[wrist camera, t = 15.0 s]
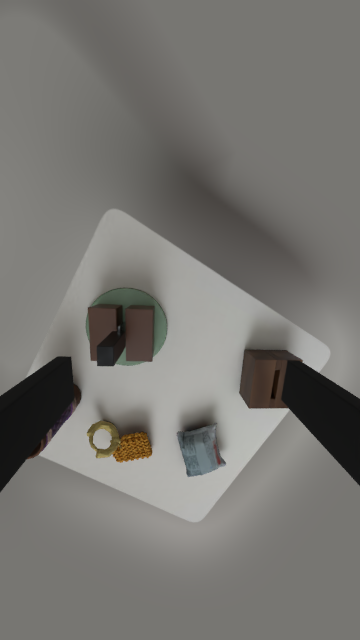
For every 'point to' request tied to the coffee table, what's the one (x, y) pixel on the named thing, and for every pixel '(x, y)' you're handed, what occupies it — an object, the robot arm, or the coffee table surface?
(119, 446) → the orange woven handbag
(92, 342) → the green disc stand
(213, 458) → the packaged food
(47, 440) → the mug
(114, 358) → the knife
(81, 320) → the coffee table surface
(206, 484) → the coffee table surface
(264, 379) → the knife block
